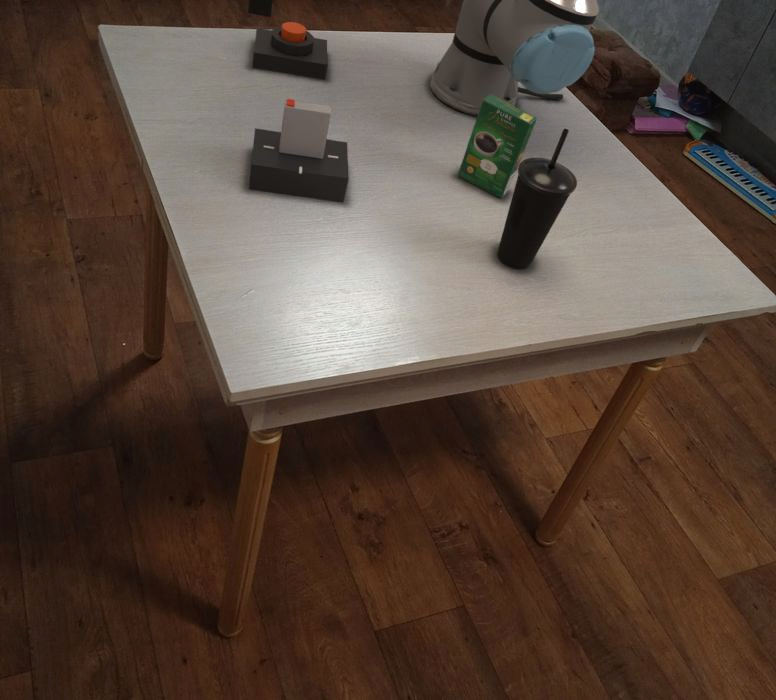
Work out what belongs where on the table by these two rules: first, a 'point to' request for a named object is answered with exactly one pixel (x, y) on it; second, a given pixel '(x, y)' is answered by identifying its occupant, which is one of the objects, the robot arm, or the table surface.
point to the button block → (290, 54)
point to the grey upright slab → (304, 129)
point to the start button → (293, 32)
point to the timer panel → (298, 169)
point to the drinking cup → (534, 207)
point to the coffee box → (496, 145)
